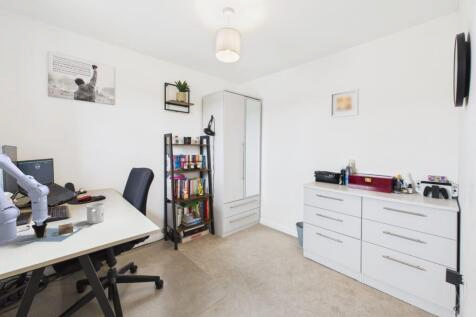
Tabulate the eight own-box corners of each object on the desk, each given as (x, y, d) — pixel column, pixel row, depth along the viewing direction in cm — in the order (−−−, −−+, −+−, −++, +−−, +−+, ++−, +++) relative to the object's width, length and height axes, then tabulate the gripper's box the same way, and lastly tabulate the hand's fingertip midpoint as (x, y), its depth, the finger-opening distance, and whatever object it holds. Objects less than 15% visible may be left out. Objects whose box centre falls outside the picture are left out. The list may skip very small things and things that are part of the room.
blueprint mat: (19, 242, 101) (19, 241, 101) (47, 228, 117) (47, 228, 117) (61, 242, 102) (61, 241, 102) (83, 229, 118) (83, 228, 118)
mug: (89, 220, 131) (88, 203, 130) (105, 218, 135) (105, 202, 134) (84, 227, 120) (83, 209, 119) (102, 225, 124) (101, 207, 123)
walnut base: (58, 235, 109) (58, 229, 108) (58, 231, 113) (58, 225, 113) (73, 232, 113) (73, 226, 112) (72, 228, 117) (72, 222, 117)
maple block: (34, 239, 103) (34, 230, 103) (35, 236, 107) (34, 227, 106) (46, 237, 106) (46, 228, 106) (46, 234, 110) (46, 225, 109)
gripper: (50, 211, 103) (51, 237, 104) (50, 204, 113) (51, 228, 114) (30, 214, 98) (31, 241, 99) (32, 206, 109) (33, 231, 110)
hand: (40, 234), depth 106 cm, fingers open, 7 cm apart
